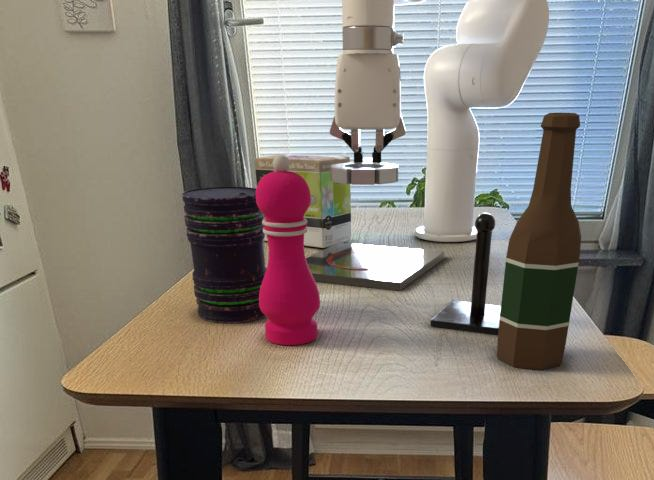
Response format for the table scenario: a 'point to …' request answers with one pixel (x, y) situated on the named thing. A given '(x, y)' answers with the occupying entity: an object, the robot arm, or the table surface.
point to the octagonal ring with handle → (364, 173)
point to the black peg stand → (474, 290)
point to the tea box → (318, 197)
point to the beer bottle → (543, 257)
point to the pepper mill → (286, 258)
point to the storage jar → (226, 252)
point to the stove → (371, 265)
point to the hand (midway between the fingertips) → (367, 178)
